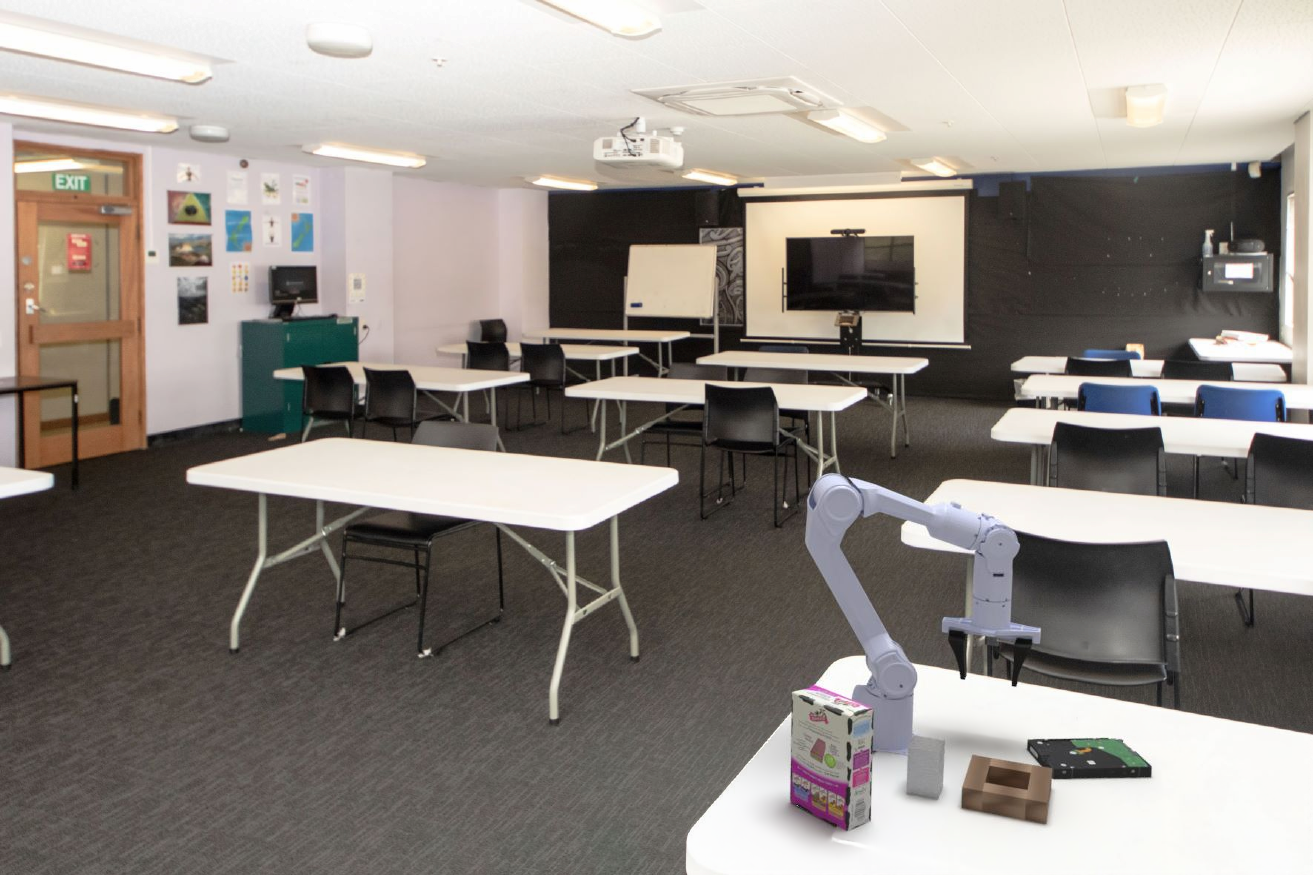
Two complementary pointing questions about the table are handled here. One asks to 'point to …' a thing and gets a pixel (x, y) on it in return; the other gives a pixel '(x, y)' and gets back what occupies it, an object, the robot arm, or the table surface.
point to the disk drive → (1089, 758)
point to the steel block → (925, 767)
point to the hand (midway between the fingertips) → (988, 680)
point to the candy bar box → (831, 756)
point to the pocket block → (1007, 789)
